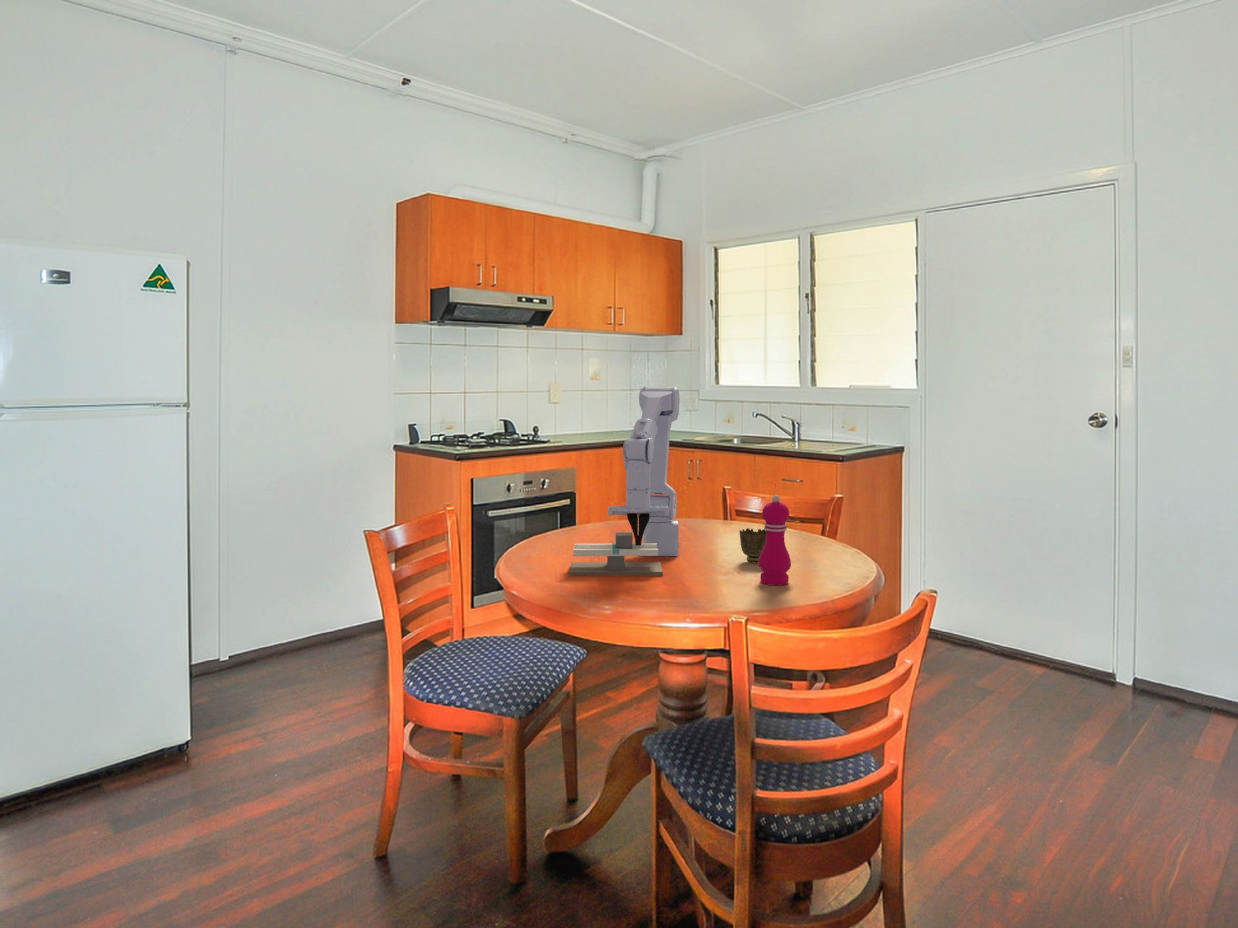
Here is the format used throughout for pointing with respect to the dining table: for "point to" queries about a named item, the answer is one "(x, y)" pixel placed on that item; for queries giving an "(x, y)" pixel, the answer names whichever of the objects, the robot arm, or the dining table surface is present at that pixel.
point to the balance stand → (615, 561)
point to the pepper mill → (775, 544)
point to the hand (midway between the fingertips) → (638, 544)
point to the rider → (624, 540)
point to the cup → (752, 543)
